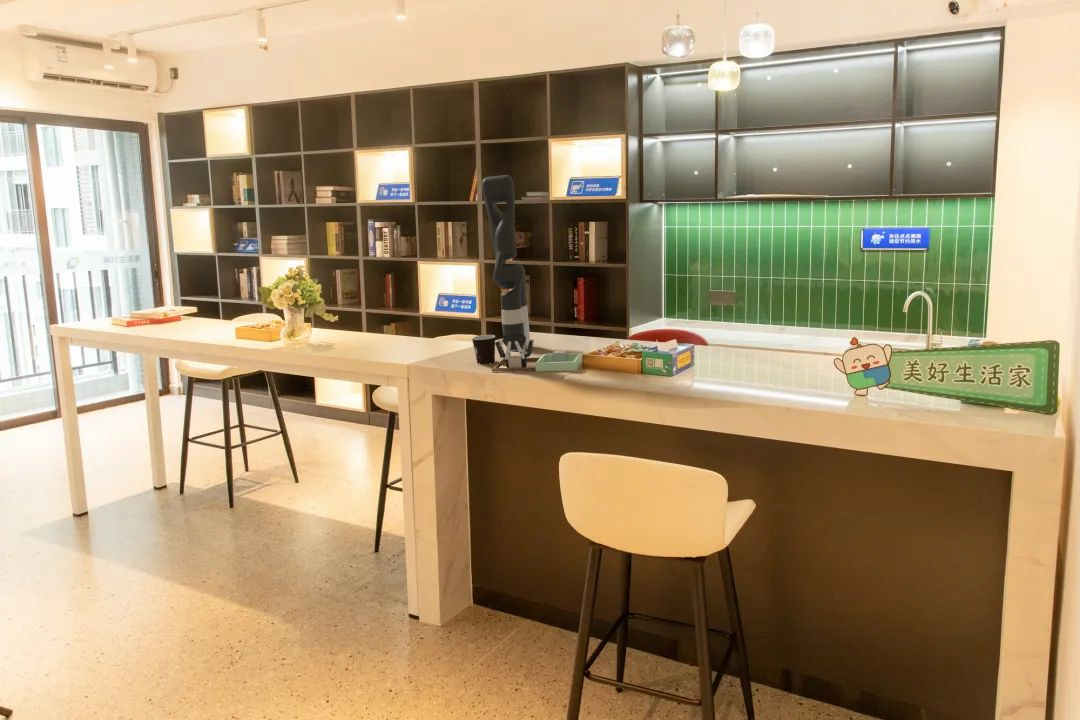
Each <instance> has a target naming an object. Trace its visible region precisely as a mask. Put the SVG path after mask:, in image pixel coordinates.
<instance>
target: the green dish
mask: <svg viewBox="0 0 1080 720" xmlns="http://www.w3.org/2000/svg"><path fill="white" fill-rule="evenodd" d="M567 355H568V362H553V358H552V353H544V354H543V353H542V355H541V356H540V358H539V360H538V361H537V362H536V363H535V368H536V371H535V372H536V373H543V372H544V373H546V372H549V373H550V372H551V373H552V372H569V373H576V372H577V371H578V370H579V368H580V367H581V365H582V364H583V354H582V352H569V353H568V352H567Z"/></svg>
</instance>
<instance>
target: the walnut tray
mask: <svg viewBox="0 0 1080 720" xmlns="http://www.w3.org/2000/svg"><path fill="white" fill-rule="evenodd" d="M540 357H541V356H540ZM540 357H539V356H538V357H527V358H526V360H527V366H526V367H525V368H499V367H500V366H502V365H503V366H506V359H505V358H501V360H500V361H499V362H498V363H496V365H494V367H493V368H492V369H491V372H492V371H510V372H509V373H515V372H514V371H528V372H536V368H535V363H536V362H537V361H538V360H539V358H540ZM511 371H512V372H511Z"/></svg>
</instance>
